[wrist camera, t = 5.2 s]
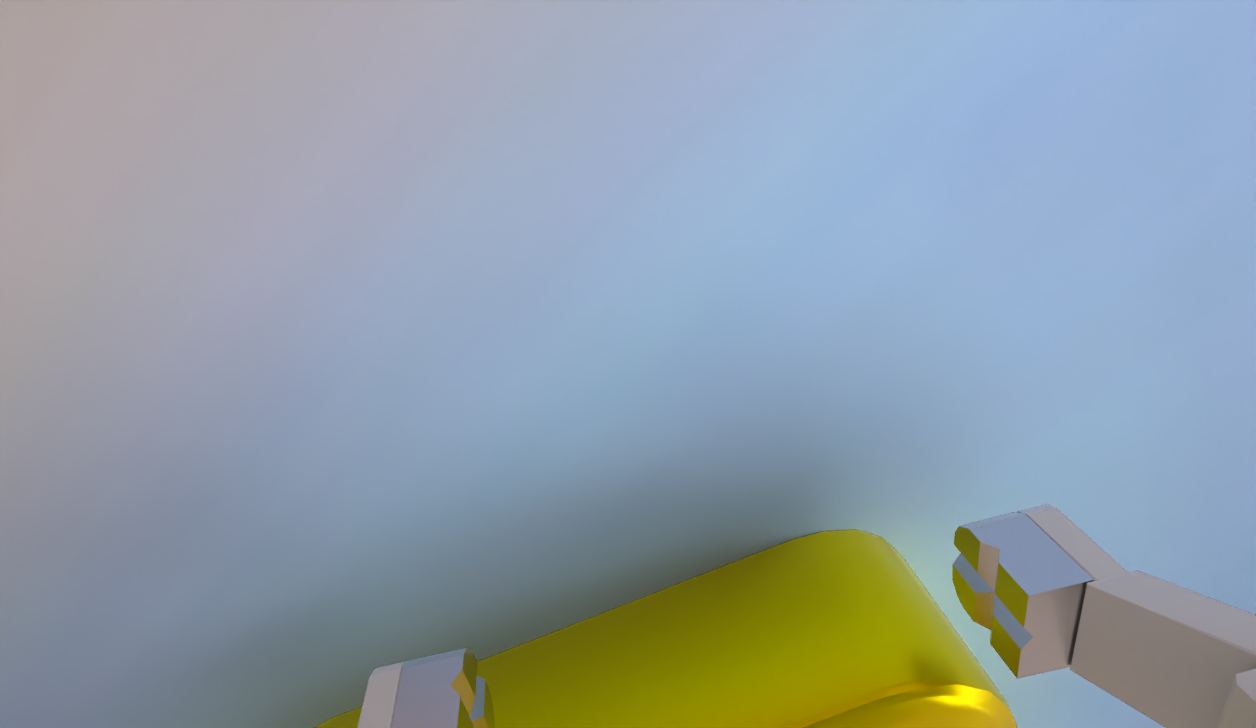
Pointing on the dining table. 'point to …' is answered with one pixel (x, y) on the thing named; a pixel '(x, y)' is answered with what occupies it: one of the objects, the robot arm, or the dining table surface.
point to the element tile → (756, 652)
